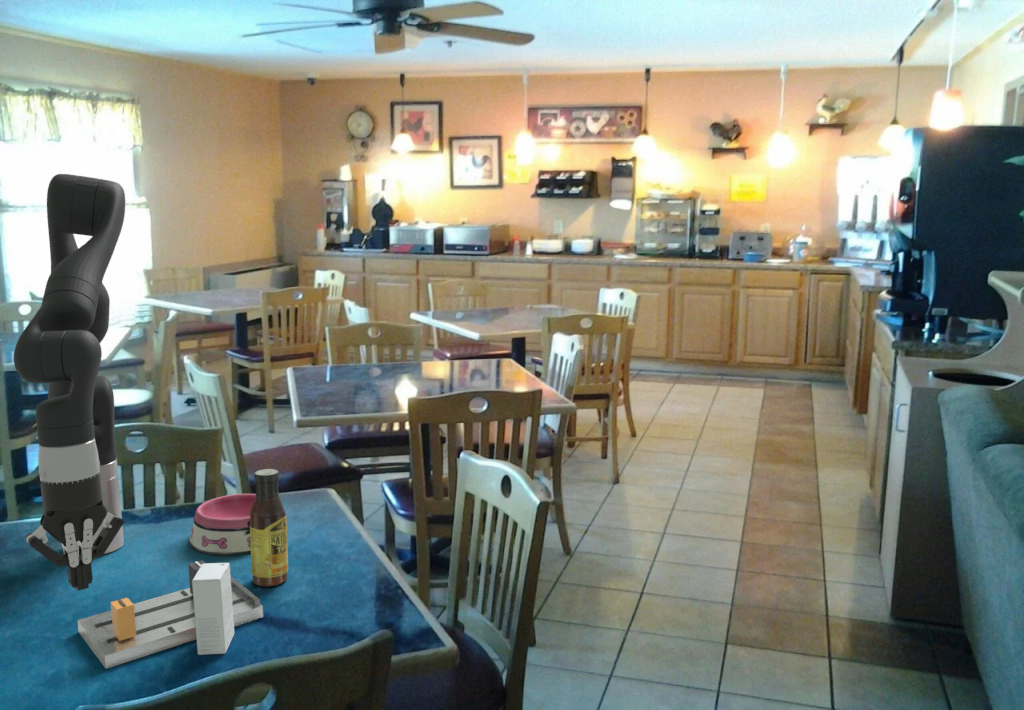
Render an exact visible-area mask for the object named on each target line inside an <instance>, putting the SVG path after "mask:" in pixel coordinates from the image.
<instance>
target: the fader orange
mask: <svg viewBox="0 0 1024 710" xmlns="http://www.w3.org/2000/svg"><path fill="white" fill-rule="evenodd" d="M134 604H135V603H133V602H132V601H131V599H129V598H128V597H124V598H121V599H120V598H119V599H118V600H115V601H114V600H113V601H111V602H110V611H111V613H112V625H113V634H114V635H115V636H116V637H117V639H118V640H119V641H121V640H125V639H128V638H131V637H134V636H136V625H135V613H134Z"/></svg>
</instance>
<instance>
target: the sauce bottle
mask: <svg viewBox="0 0 1024 710" xmlns="http://www.w3.org/2000/svg"><path fill="white" fill-rule="evenodd" d="M253 477H254V482H255V494H256V497H257V498H256V500H255V502H254V503H253V505H252V507H251V510H250V544H251V553H250V564H251V565H250V567H251V568H250V569H251V574H252V581H253V583H254V584H255V585H256V586H259V587H266V588H268V587H275V586H278V585H281V584H283V583H284V582H286V580H287V578H288V571H289V549H288V525H287V524H288V523H287V521H288V519H287V516H288V515H287V513H286V510H285V508H284V505H283V502H282V500H281V498H280V495H279V494H280V493H279V492H280V491H279V479H280V475H279V471H278V470H277V469H274V468H265V469H259V470H257V471H255V472H254V476H253Z"/></svg>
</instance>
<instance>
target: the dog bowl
mask: <svg viewBox="0 0 1024 710" xmlns="http://www.w3.org/2000/svg"><path fill="white" fill-rule="evenodd" d="M256 498H257V497H256V493H234V494H233V493H232V494H228V495H223V496H222V495H221V496H219V497H215V498H211V499H208V500H207V501H204V502H202V504H200V505H199V506H198V507H197V508H196V510H195V512H194V513H195V514H194V517H193V522H192V523H193V524H192V527H191V532H190V537H189V540H188V541H189V546H190V547H191V548H192V549H193V550H194V551H197V552H198V553H200V552H201V554H205V555H208V556H219V557H222V556H223V557H229V556H231V557H233V555H235V556H243V555H251V544H250V510H251V507H252V505H253V503H254V502H255V500H256Z"/></svg>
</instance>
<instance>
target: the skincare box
mask: <svg viewBox="0 0 1024 710" xmlns="http://www.w3.org/2000/svg"><path fill="white" fill-rule="evenodd" d="M205 563H206V564H202V565H201V567H200V568H199V570H198V572H197V573H196V575H195V577H194V578H193V580H192V587H193V600H194V613H195V626H196V650H197V655H198V656H203V655H224V654H226V653H227V650H228V648H229V646H230V644H231V642H232V640H233V638H234V635H235V627H234V619H233V606H232V591H231V576H232V575H231V565H230V562H214V563H213V562H210V563H207V562H205Z"/></svg>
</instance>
